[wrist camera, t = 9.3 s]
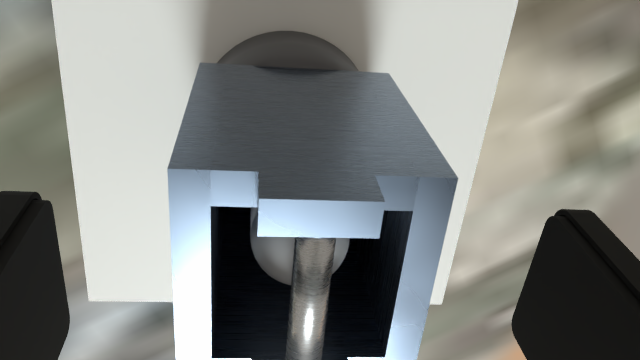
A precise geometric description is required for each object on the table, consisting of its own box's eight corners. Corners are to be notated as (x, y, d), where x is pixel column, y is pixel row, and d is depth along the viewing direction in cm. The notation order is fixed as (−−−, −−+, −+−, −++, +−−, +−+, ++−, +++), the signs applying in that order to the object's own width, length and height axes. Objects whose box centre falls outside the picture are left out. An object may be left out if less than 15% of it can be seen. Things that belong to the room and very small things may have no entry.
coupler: (199, 62, 15) (159, 195, 8) (388, 72, 15) (475, 204, 9) (201, 225, 17) (171, 421, 11) (365, 228, 18) (422, 415, 11)
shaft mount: (46, -193, 15) (-216, -277, 7) (530, -136, 17) (798, -146, 9) (98, 276, 23) (4, 514, 14) (431, 281, 25) (523, 495, 16)
